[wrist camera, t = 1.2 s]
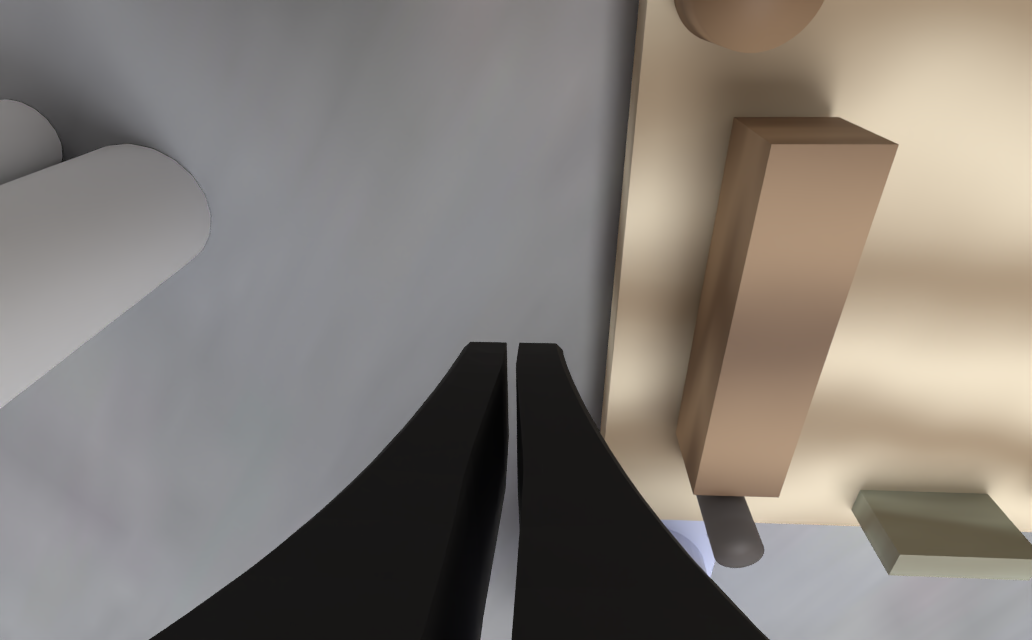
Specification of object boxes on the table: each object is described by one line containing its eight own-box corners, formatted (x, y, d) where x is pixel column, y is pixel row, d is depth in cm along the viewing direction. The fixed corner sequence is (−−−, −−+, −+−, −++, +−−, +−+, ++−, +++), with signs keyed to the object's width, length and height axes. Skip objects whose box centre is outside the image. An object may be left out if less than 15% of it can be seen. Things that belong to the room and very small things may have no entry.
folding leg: (750, 434, 21) (778, 497, 18) (675, 432, 21) (693, 494, 19) (839, 116, 15) (899, 144, 12) (733, 117, 15) (771, 144, 13)
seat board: (1096, 506, 24) (1241, 644, 19) (594, 490, 26) (606, 617, 20) (1594, -131, 13) (2269, -205, 8) (649, -111, 14) (706, -165, 9)
